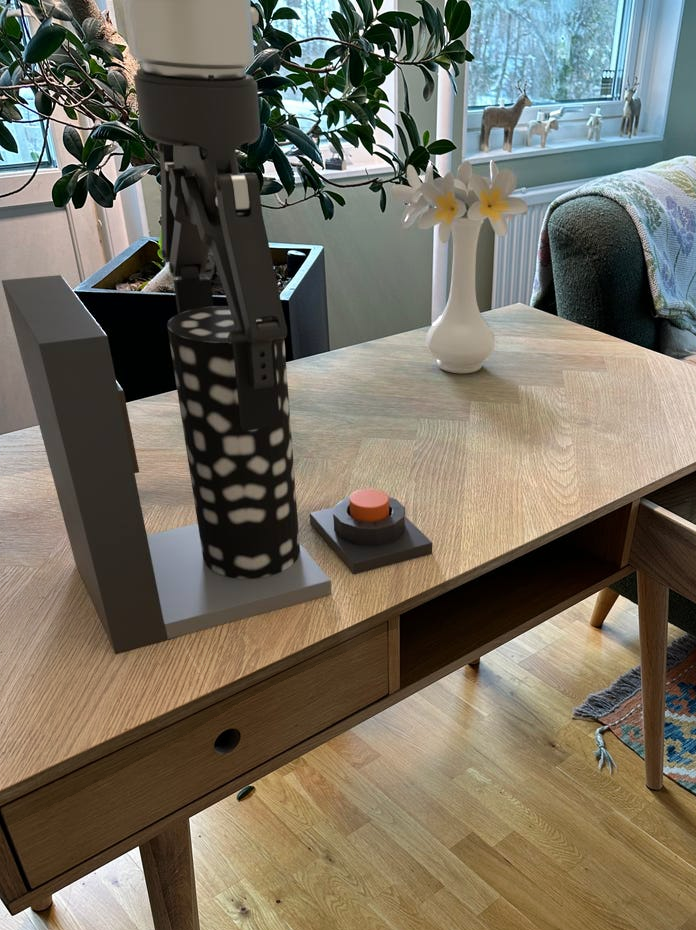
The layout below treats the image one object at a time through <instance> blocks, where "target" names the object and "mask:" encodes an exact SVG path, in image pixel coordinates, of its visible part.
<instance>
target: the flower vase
mask: <svg viewBox="0 0 696 930" xmlns="http://www.w3.org/2000/svg"><path fill="white" fill-rule="evenodd" d="M489 171H490V172H489V174H490V177H488V176H487V177H486V176H482V175H481V174H478V173H473V167H472V163H471V162H470V161H469V160H464V161H463V162H462V163H461V164H460V165H459V167H458V169H457V171H456V178H455V176H454V174H453V173H452V172H451V171H447V172H446V173H445V174H444V176H443V177H436V178H434V170H433V165H432V161H431V160H429V162H428V163H427V167H426V170H425V174H424V181H422V182H421V180H420V177H419V174H418V172H417V170H416V169H415V166H413V165H412V164H408V165H407V167H406V179H407V183H408V184H409V186H408V185H404V184H399V183H398V184H394V185H392V186H391V188H390V189H391V190H390V191H391V192H390V194H391V195H392V197H393V198H394V199H395V200H396V201H398V202H400V203H402V204H407V206H406V207H405V209H404V211H403V213H402V216H401V222H400V223H401V226H402V228H403V229H404V230H406V229H408V228H410V227H411V226H413V224H414V222H415V221H416V219H417V218H419V220H418V222H417V227H418V228H419V230H421V231H426V230H429V229H432V228H433V227H435V226H437V225H438V230H437V231H438V238H439V240H440V242H441V243H442V244H447V243H448V241H449V239H450V237H451V236H452V237H451V240H452V264H451V265H452V266H451V277H450V278H451V279H450V288H449V293H448V300H447V303H446V305H445V307H444V309H443V311H442V313H441V314H440V316H439V317H438V318H436V319H435V320H434V322H433V323H432V324H431V326H430V327H429V329H428V331H427V334H426V337H425V344H426V347H427V349H428V351H429V353H431V355H432V356H433V357H434V358H435V359H436V364H437V367H438V368H440V369H441V370H443V371H445V372H448V373H452V374H472V373H476V372H478V371H480V370H481V369H482V367H483V362H484V361H486V360H487V359H488V358H490V356H491V355H492V354H493V352H494V350H495V347H496V338H495V334H494V332H493V329H492V327H491V326H490V325H489V323H488V322H487V321H486V320H485V319H484V317H483V316H482V314H481V312H480V308H479V305H478V301H477V300H478V299H477V291H476V290H477V289H476V285H477V284H476V281H477V280H476V278H477V277H476V276H477V273H476V271H477V268H476V266H477V251H478V243H479V238H480V233H481V228H482V225H483V224H484V222H485V220H486V219H488V220H489V223H490V226H491V228H492V230H493V232H494V233H495V234H496V235H497V236H498V237H500V238H504V237H505V236H506V235H507V234H508V229H509V225H508V221H509V222H511V223H513V222H514V216H516V215H522V216H526V215H528V203H527V202H526V201H525V200H524V199H523V198H520V197H517V196H511V195H512V194H513V193H514V192H515V190H516V188H517V184H518V179H517V175H516V174H515V172H513V171H511V170H510V169H508V168H503V169H501V170H500V171H499V168H498V166H497V164H496V162H495V161H494V160H490V162H489ZM430 205H431V206H432V207H431V208H430Z"/></svg>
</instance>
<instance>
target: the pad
mask: <svg viewBox="0 0 696 930" xmlns="http://www.w3.org/2000/svg"><path fill="white" fill-rule="evenodd" d="M388 497H389V516H388V518H386V519H385V520H381V521H377V522H361V521H358V520H355V519H352V518H351V516H350V496H346V497H345V498H343V499H342V500H341V501H339V502H338V503H336V504H335V505H334V507H329V508H324V509H321V510H316V511H311V512H309V524H310V525H311V526H312V527H313V528H314V530H315V531H316V532H317V533H318V534H319V536H320V537H321V538H322V539H323V541H324V542H326V544H327V545H328V546H329V547H330V549H332V551H333V552H334V553H335V554H336V556H337V557H338V558H339V559H340V560H341V561H342V562H343V564H344V565H345V566H346V567H347V568H348V569H349V570H350V572H351V573H352V574H353V575H358V574H360V573H361V574H362V573H365V572H369V571H373V570H376V569H380V568H383V567H387V566H392V565H394V564H399V563H403V562H406V561H409V560H413V559H417V558H421V557H424V556H428V555H432V554H433V546H434V545H433V542H432V541H431V540H430V539H429V538H428V537H427V535H425V534H424V533H423V532H422V531H421V530H420V529H419V528H418V527H417V526H416V525H415V524H414V523H413V522H412V521H410V519H409V518H407V516H406V507H405V506H404V505H403V504H402V503H401V502H400V501H399V500H398V499H397V498H393V497H390V496H388Z"/></svg>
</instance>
